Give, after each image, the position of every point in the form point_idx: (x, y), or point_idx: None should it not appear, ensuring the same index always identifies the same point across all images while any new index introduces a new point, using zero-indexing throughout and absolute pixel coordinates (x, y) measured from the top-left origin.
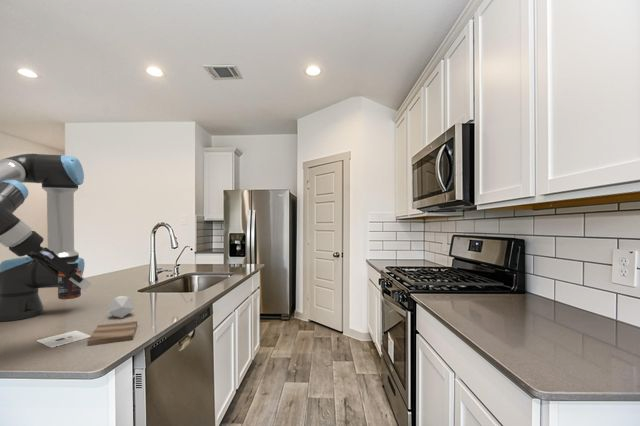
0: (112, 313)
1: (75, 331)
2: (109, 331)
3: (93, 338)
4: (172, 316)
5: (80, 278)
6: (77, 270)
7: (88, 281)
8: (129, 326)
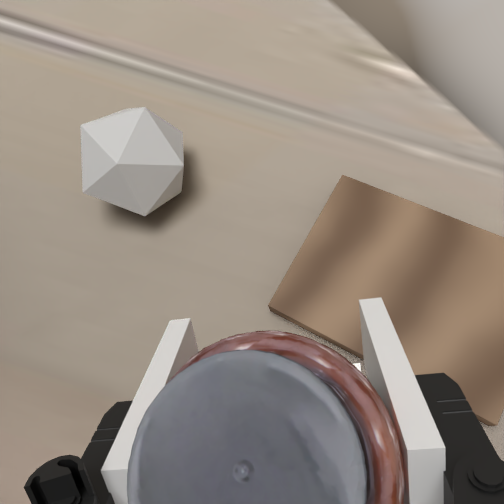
0: (155, 208)
1: None
2: (415, 306)
3: (479, 393)
4: (334, 60)
5: (465, 406)
6: (375, 403)
7: (388, 317)
8: (404, 223)
